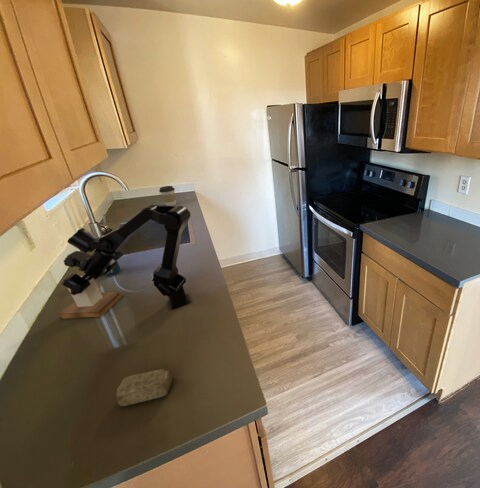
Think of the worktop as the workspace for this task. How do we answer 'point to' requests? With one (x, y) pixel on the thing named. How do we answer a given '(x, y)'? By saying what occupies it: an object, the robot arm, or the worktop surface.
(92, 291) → the cream box
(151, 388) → the stone block
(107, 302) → the wooden base plate
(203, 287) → the worktop surface
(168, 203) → the coffee cup
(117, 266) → the soda can
